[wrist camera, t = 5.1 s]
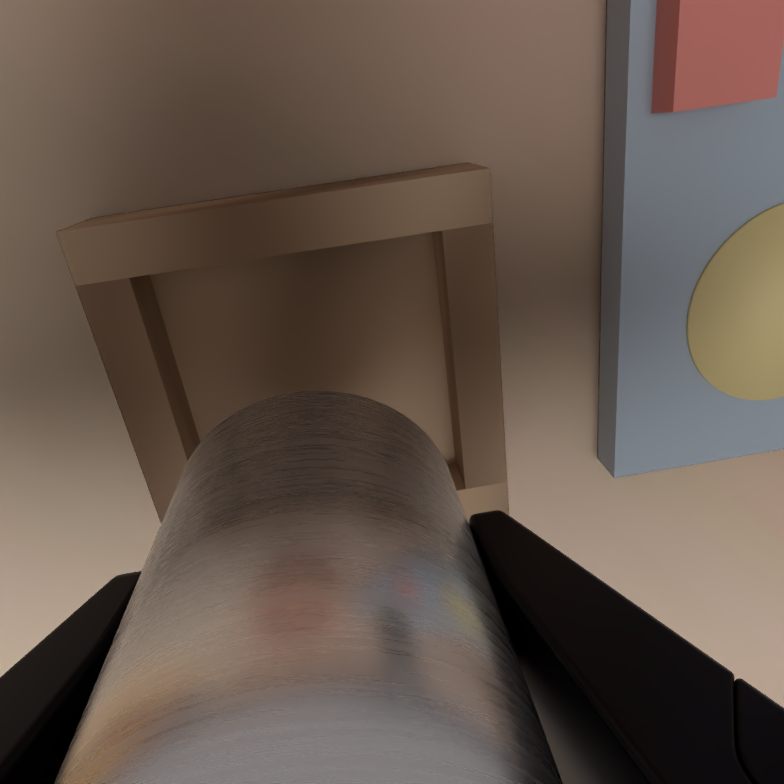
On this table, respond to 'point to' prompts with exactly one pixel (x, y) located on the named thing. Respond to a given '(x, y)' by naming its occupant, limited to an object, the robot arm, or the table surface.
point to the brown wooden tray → (304, 314)
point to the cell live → (312, 620)
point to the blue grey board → (692, 234)
